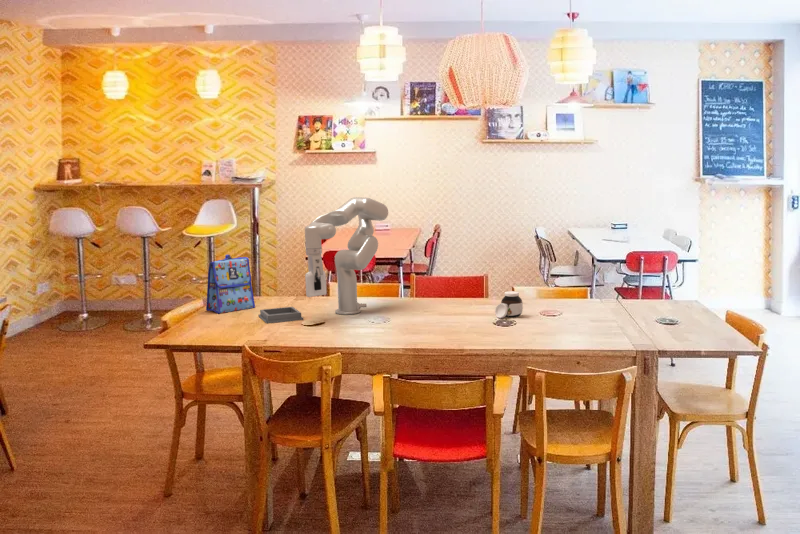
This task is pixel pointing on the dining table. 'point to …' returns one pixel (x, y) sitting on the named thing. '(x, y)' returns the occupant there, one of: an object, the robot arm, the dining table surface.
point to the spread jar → (510, 305)
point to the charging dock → (280, 315)
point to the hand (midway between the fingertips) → (316, 288)
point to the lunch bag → (229, 285)
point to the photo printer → (310, 285)
